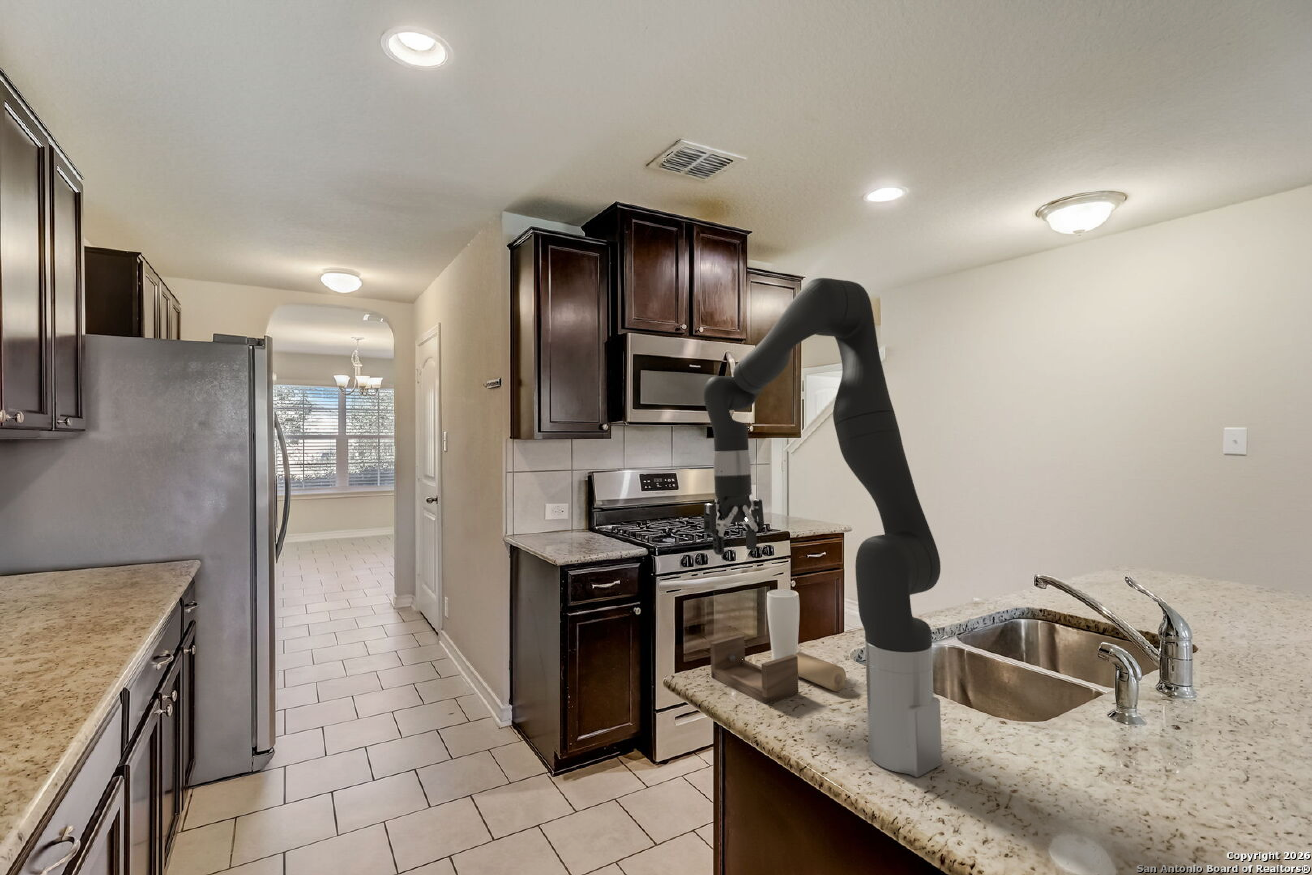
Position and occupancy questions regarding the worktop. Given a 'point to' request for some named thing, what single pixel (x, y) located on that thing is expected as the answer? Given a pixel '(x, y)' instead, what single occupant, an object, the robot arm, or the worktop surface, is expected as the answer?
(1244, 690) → the worktop surface
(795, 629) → the drinking glass
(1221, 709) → the worktop surface
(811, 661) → the roll
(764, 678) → the holder
